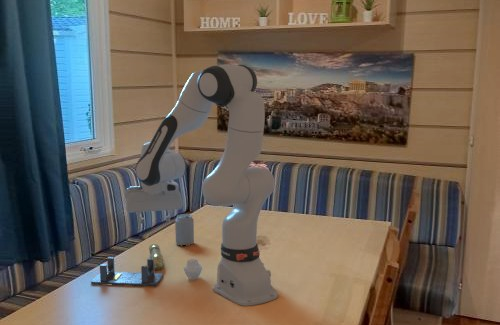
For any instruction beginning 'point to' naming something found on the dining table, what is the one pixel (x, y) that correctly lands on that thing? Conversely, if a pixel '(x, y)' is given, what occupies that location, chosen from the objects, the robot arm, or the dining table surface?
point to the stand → (128, 275)
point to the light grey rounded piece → (193, 269)
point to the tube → (156, 256)
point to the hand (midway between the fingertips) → (155, 222)
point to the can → (184, 229)
